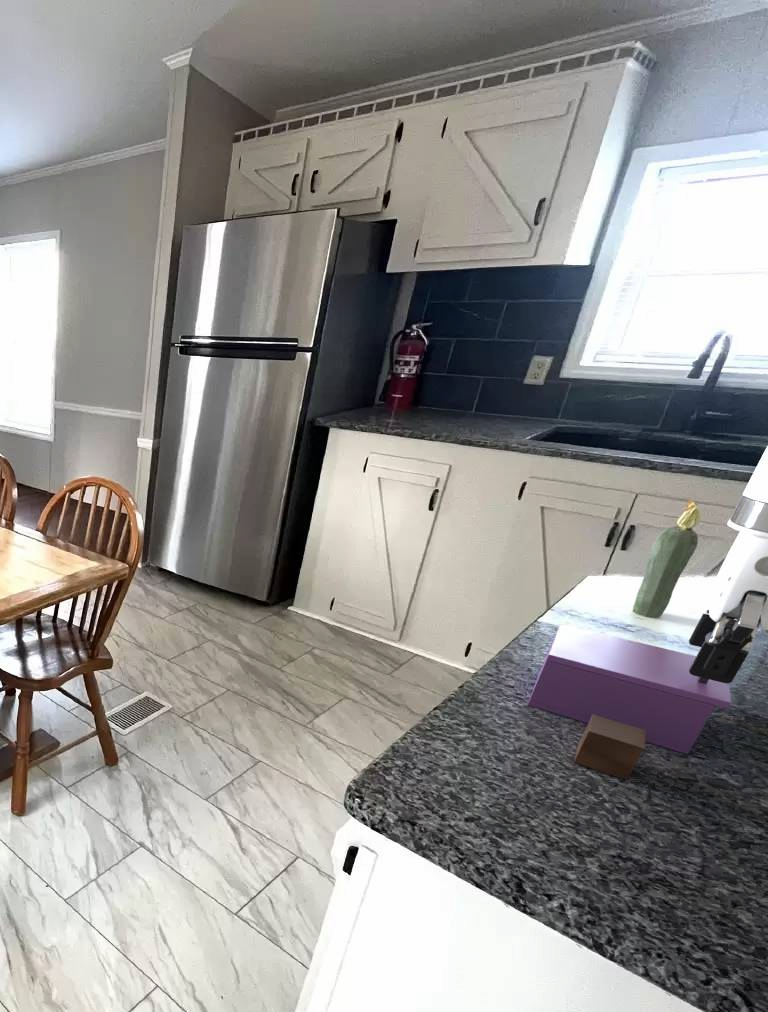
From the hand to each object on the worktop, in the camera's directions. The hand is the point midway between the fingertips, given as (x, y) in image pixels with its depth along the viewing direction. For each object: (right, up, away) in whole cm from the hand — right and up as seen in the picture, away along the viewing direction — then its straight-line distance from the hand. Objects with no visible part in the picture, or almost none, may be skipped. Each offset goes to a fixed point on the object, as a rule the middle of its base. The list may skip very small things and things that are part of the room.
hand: (707, 662), depth 73 cm
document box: (-4, -7, +8) cm, 11 cm away
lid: (-4, -1, +5) cm, 6 cm away
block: (-14, -11, -1) cm, 18 cm away
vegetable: (+21, +3, +28) cm, 35 cm away
